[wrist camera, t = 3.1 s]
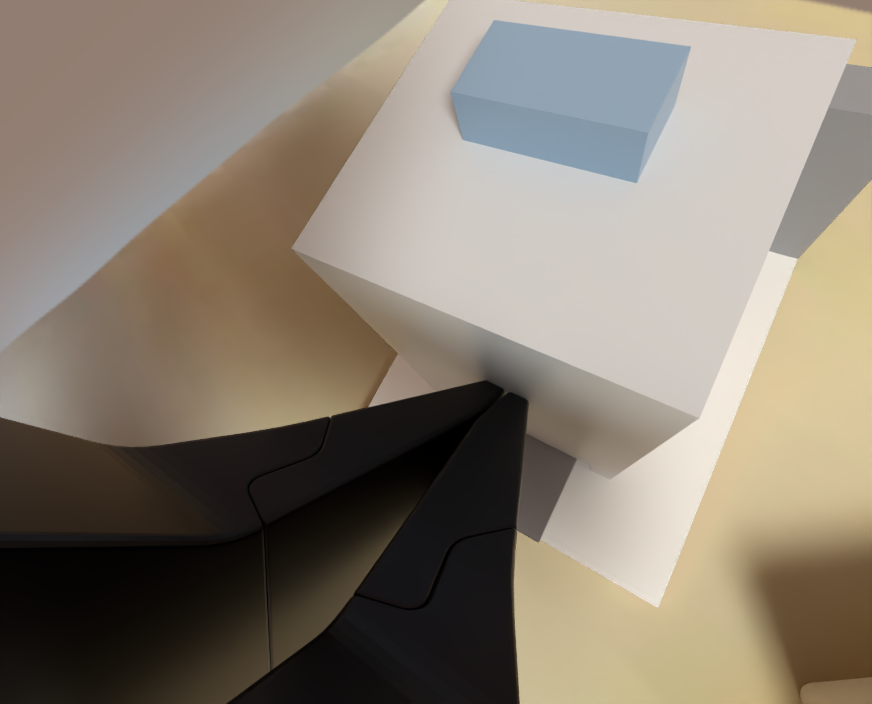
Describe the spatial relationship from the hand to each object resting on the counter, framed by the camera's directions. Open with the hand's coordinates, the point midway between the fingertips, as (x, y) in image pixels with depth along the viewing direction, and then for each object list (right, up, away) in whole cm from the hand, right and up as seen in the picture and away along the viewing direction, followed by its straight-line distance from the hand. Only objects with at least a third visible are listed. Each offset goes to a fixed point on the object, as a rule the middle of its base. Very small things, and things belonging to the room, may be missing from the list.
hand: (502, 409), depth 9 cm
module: (+3, 0, +7) cm, 7 cm away
